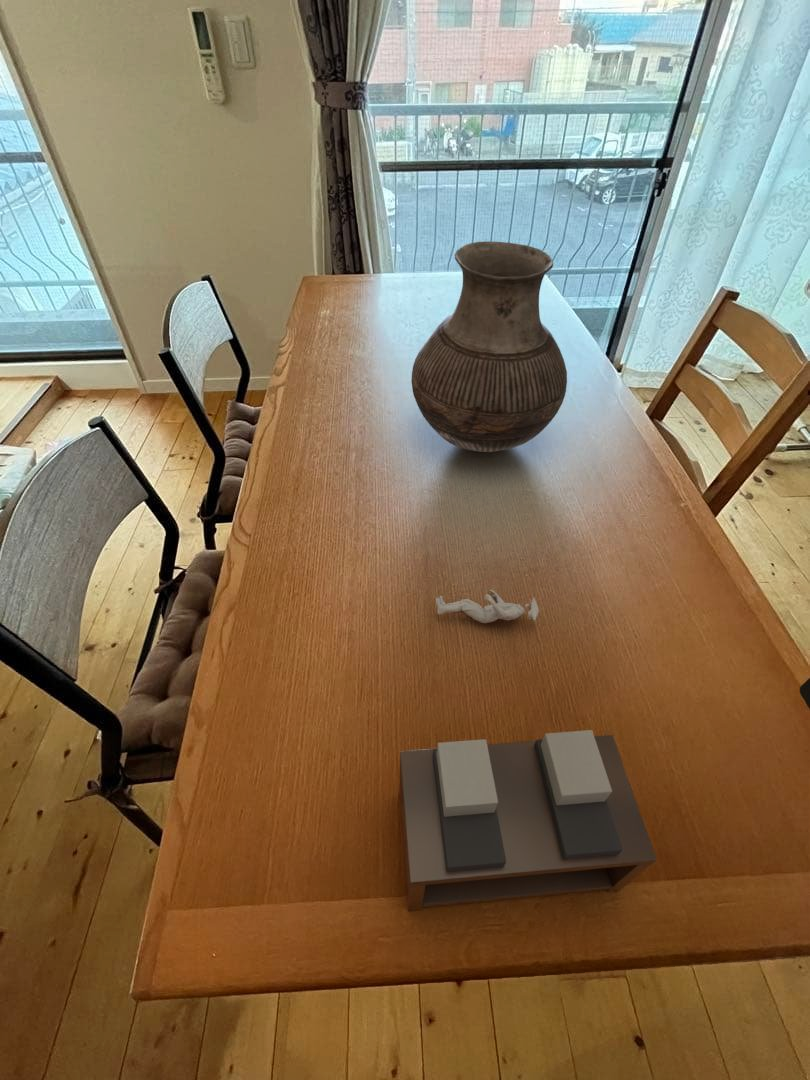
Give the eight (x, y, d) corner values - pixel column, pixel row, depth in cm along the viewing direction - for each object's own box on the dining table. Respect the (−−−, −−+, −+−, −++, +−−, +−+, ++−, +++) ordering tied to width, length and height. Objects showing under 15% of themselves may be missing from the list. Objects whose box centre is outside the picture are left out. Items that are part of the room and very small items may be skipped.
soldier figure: (442, 592, 74) (533, 577, 71) (449, 628, 74) (540, 614, 71) (431, 599, 67) (532, 582, 64) (439, 639, 66) (540, 624, 64)
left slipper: (504, 866, 42) (510, 853, 39) (446, 872, 42) (449, 859, 39) (482, 750, 48) (487, 732, 46) (432, 754, 48) (434, 736, 45)
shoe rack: (619, 891, 50) (657, 860, 42) (407, 911, 48) (410, 883, 41) (585, 777, 56) (612, 734, 49) (399, 793, 55) (399, 750, 48)
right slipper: (618, 854, 43) (632, 841, 40) (562, 859, 42) (572, 846, 40) (582, 741, 49) (592, 723, 46) (533, 745, 48) (541, 727, 46)
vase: (435, 390, 108) (445, 219, 86) (562, 416, 102) (606, 239, 81) (389, 463, 92) (387, 275, 70) (536, 499, 86) (583, 306, 64)
